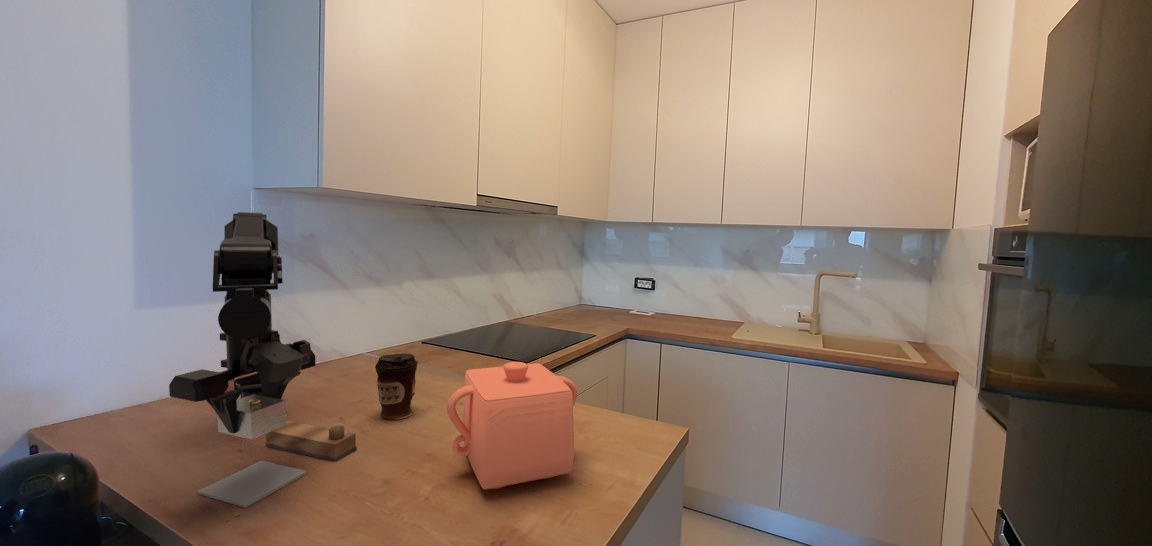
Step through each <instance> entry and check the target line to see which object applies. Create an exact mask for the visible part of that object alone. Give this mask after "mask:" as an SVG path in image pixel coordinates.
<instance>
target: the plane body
mask: <svg viewBox="0 0 1152 546" xmlns="http://www.w3.org/2000/svg"><path fill="white" fill-rule="evenodd" d="M356 435H357V434H356V433H353V432H349V431H345V426H343V425H335V426H331V427H329V428H328V427H322V426H317V425H312V424H307V423H303V422H297V421H291V420H287V425H285V426H282V427H280V428H278V429H275V430H273V431H271V432H268V433H266V434H265V438H266V442H265V447H269V448H273V449H276V450H277V449H278V450H282V451H287V452H291V453H296V454H300V455H303V456H304V455H306V456H309V457H310V456H311V457H314V458H319V459H323V460H328V461H333V462H338V461H340V460H342V459H344V458H345V457H347V456H348V455H350V454H352V453H354V452H355V451H357V450H358V448H357V443H356V442H357V441H356Z"/></svg>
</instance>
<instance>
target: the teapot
mask: <svg viewBox="0 0 1152 546" xmlns="http://www.w3.org/2000/svg"><path fill="white" fill-rule="evenodd" d="M464 377H465V378H464V386H462V387H460V388H459V389H457V390H455V391H454V392H453V393H452V395H451V396H450V397H449V399H448V401H447V403H446V404H447V405H446V410H447V415H448V417H449V420H450V422H451V423H452V424H453V426H454V427H455V429H456V430H457V431H458V432H459V433H460V435H458V436H456V437H455V438H454V440H453V443H452V449H453V451H454V453H455V455H457V456H459V457H467V458H468V461H469V464H470V466H471V468H472V471H473V472H474V474H475V477H476V480H477V481H478V483H479V484H480V487H481V489H483V490H484V491H485V490H490V489H491V490H492V489H493V490H497V489H501V488H504V487H507V486H513V485H518V484H521V483H522V484H523V483H528V482H533V481H537V480H543V479H552V478H554V477H557V476H562V475H567V474H571V473H572V472H573V467H574V466H573V465H574V458H575V457H574V455H575V430H574V429H575V428H574V427H575V425H574V419H575V418H574V407H575V404H576V403H577V399H578V389H577V386H576V385H575V383H574V382H573V381H572V380H571V379H569V378H567V377H566V376H563V375H556V374H554V372H552V371H551V370H549V369H548V368H547V367H545V366H543V364H540V363H525V362H521V361H510V362H506V363H504V364H503V365H501V366H494V367H493V366H492V367H483V368H482V367H481V368H474V369H473V368H471V369H466V371H465V376H464ZM462 399H463V407H462V408H463V410H462V411H463V412H462V420H461V418H460V416H459V415H458V412H457V410H456V409H457V408H456V406H457V403H458V402H459V401H460V400H462ZM462 442H463V444H464V446H461V445H460V443H462Z"/></svg>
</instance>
